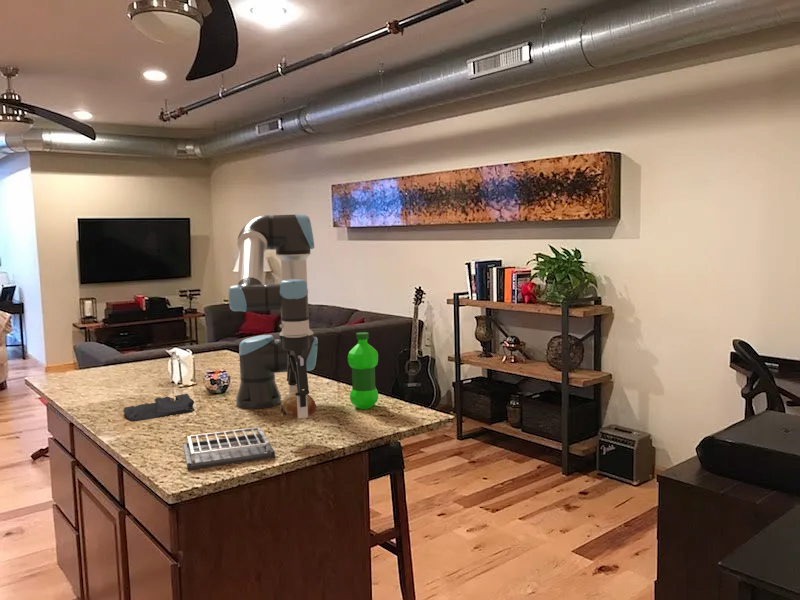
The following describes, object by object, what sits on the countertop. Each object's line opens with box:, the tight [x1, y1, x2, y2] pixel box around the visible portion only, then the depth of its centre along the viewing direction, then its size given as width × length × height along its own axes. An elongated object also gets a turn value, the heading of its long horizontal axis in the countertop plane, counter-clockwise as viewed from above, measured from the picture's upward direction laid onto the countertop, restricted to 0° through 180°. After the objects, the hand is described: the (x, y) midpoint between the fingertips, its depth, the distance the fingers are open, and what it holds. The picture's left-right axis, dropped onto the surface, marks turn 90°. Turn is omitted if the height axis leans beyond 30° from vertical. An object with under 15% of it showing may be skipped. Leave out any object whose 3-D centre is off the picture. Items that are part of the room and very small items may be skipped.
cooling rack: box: [182, 426, 276, 471], centre depth 180 cm, size 18×22×4 cm
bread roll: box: [279, 392, 317, 420], centre depth 189 cm, size 10×10×8 cm
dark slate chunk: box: [123, 393, 196, 422], centre depth 224 cm, size 15×22×5 cm
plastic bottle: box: [347, 331, 379, 410], centre depth 223 cm, size 10×10×25 cm
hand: (298, 412), depth 189 cm, fingers closed on bread roll, 10 cm apart
